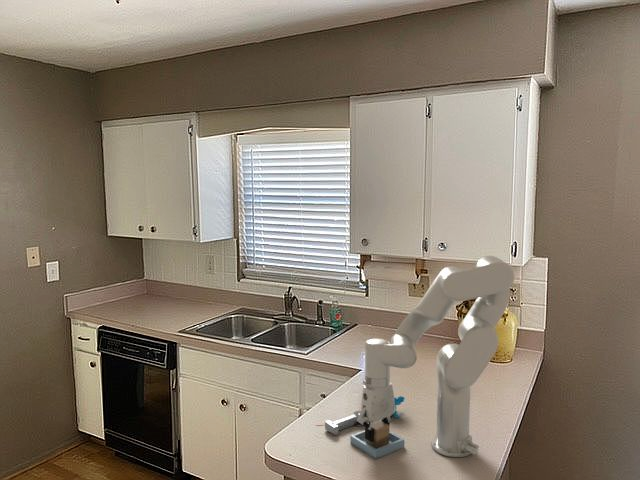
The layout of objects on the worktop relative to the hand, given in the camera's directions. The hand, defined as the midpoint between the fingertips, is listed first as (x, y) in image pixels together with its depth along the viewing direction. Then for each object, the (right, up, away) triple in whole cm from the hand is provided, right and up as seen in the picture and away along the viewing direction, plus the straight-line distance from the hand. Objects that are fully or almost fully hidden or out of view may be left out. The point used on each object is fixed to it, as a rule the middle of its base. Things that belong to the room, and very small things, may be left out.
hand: (377, 436), depth 160 cm
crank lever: (-8, -1, +12) cm, 15 cm away
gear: (+7, -1, +21) cm, 22 cm away
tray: (0, -3, 0) cm, 3 cm away
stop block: (0, -2, 0) cm, 2 cm away
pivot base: (-9, -1, +14) cm, 17 cm away
